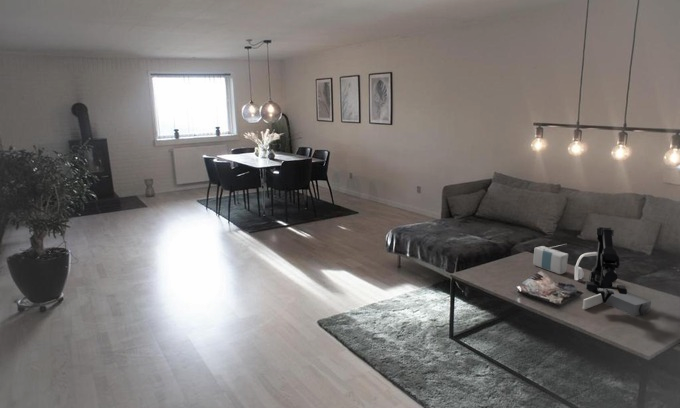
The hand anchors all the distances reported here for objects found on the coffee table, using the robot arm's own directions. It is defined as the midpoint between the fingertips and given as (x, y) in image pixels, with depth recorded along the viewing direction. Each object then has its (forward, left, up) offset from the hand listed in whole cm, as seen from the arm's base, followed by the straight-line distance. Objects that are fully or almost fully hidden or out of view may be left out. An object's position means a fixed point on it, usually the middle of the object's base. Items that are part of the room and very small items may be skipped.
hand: (604, 302), depth 246 cm
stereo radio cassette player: (-57, +23, -5) cm, 62 cm away
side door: (-7, 0, -4) cm, 8 cm away
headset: (-34, +31, -5) cm, 46 cm away
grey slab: (+1, +15, -5) cm, 16 cm away
